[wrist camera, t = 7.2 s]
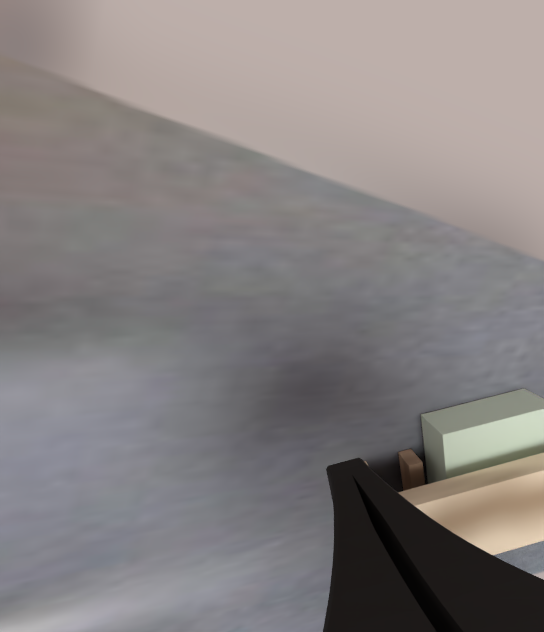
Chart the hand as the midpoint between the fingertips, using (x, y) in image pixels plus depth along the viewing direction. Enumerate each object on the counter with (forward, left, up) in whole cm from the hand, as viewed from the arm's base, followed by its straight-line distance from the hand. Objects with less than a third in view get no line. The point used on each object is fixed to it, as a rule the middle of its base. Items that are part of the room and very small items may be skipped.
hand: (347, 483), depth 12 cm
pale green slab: (-8, -12, -9) cm, 17 cm away
